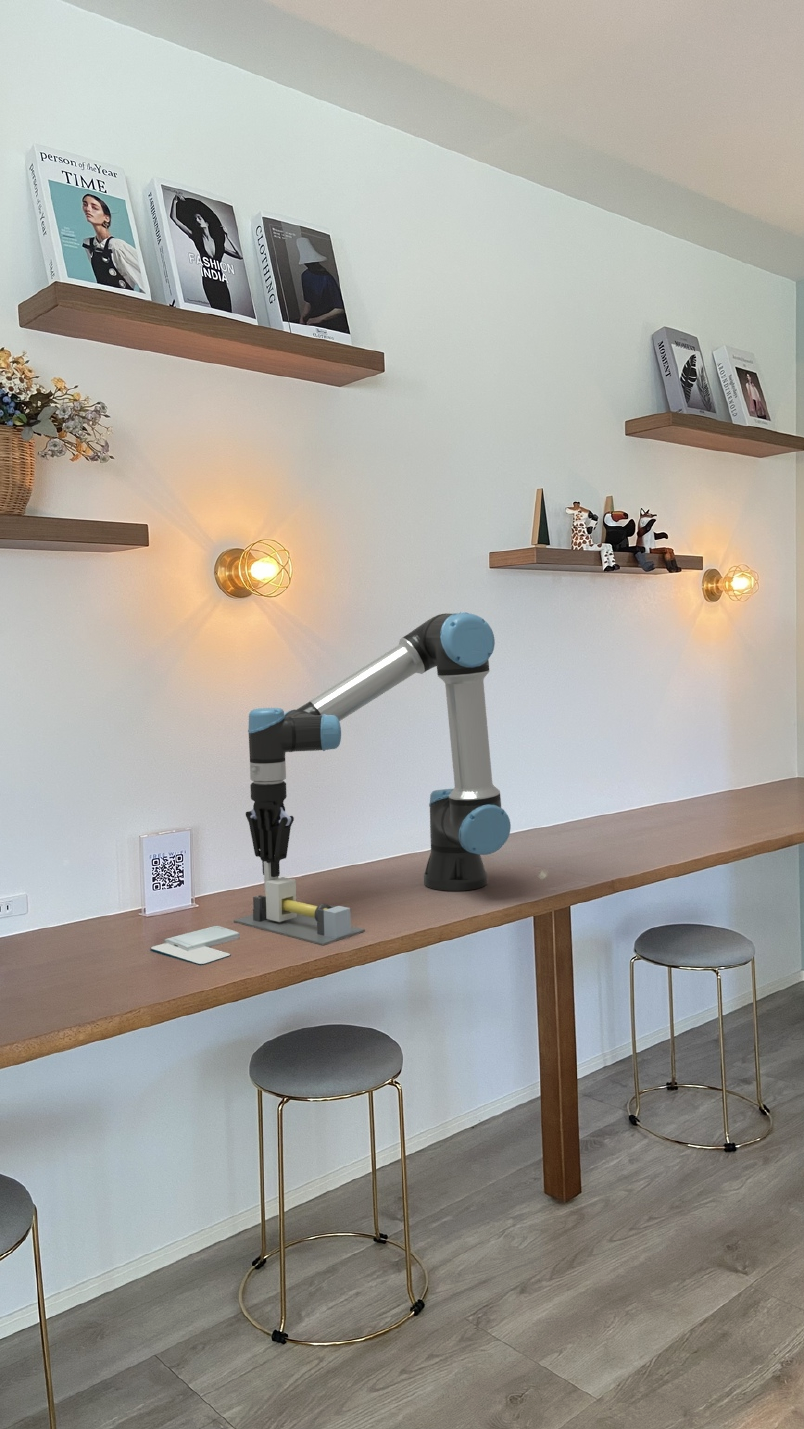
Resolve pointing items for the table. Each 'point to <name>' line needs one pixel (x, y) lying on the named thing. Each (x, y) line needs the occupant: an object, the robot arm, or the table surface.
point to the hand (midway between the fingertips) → (271, 890)
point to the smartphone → (191, 953)
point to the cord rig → (304, 921)
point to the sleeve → (279, 898)
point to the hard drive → (203, 938)
